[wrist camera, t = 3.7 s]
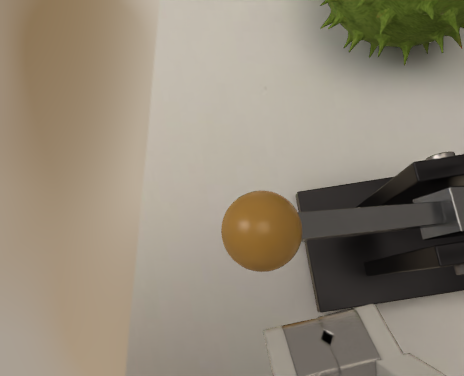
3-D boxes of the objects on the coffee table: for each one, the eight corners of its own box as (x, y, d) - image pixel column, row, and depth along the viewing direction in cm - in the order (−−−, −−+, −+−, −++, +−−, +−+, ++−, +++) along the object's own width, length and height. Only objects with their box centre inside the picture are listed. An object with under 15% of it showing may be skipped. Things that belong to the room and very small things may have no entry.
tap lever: (216, 280, 18) (248, 272, 15) (205, 203, 19) (234, 182, 16) (456, 246, 24) (513, 235, 21) (441, 189, 24) (493, 171, 22)
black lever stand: (317, 311, 33) (366, 326, 19) (295, 195, 35) (325, 134, 21) (477, 287, 33) (637, 284, 19) (445, 171, 35) (569, 96, 21)
